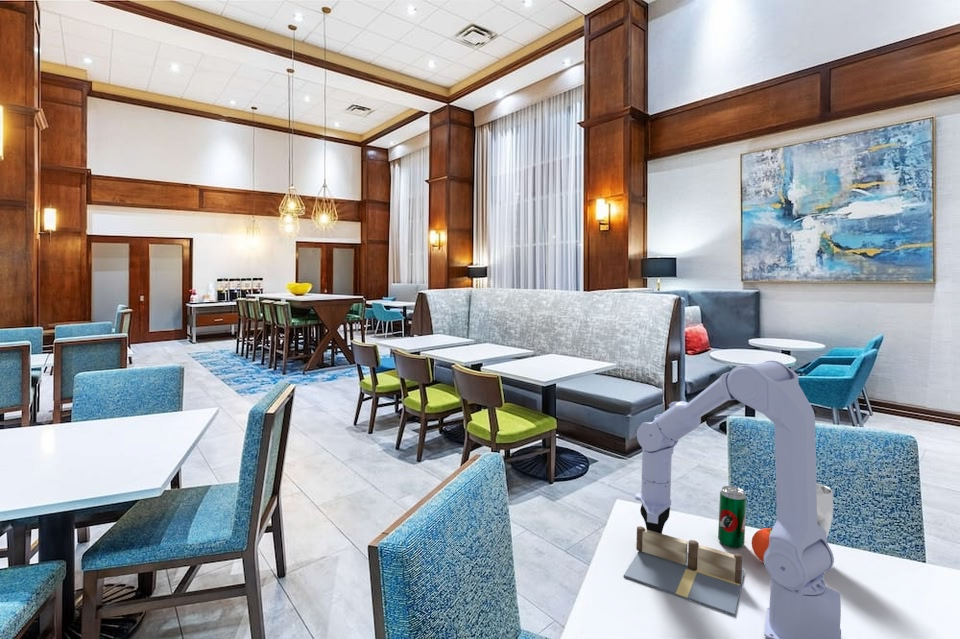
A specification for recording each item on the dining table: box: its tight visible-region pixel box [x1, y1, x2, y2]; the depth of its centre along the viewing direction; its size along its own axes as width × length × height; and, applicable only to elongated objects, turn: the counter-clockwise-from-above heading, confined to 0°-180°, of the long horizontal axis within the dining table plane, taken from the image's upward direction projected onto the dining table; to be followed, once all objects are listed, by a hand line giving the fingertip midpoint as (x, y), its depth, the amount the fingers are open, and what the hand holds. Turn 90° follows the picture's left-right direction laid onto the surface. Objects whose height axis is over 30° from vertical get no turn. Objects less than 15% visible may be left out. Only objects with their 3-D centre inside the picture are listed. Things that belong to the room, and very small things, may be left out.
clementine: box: [751, 527, 773, 563], centre depth 95 cm, size 8×7×7 cm
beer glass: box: [816, 482, 834, 538], centre depth 97 cm, size 7×7×15 cm
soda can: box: [717, 485, 747, 549], centre depth 103 cm, size 5×5×12 cm
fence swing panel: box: [635, 525, 689, 565], centre depth 97 cm, size 10×2×5 cm, turn 55°
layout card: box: [623, 550, 745, 617], centre depth 92 cm, size 19×15×1 cm
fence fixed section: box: [687, 539, 744, 585], centre depth 91 cm, size 9×2×5 cm, turn 55°
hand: (654, 540), depth 100 cm, fingers closed
